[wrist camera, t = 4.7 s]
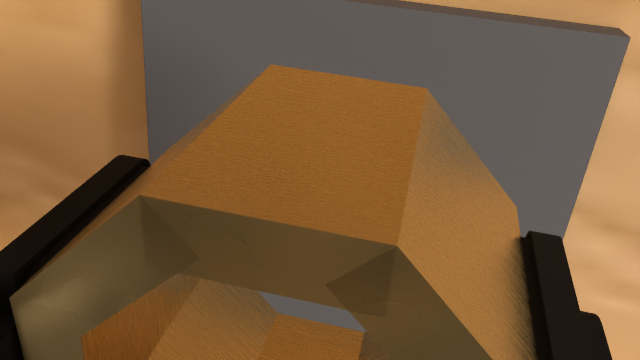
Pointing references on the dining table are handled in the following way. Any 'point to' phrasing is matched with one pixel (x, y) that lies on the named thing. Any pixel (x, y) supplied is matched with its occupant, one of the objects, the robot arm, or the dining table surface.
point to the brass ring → (295, 239)
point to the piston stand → (402, 68)
